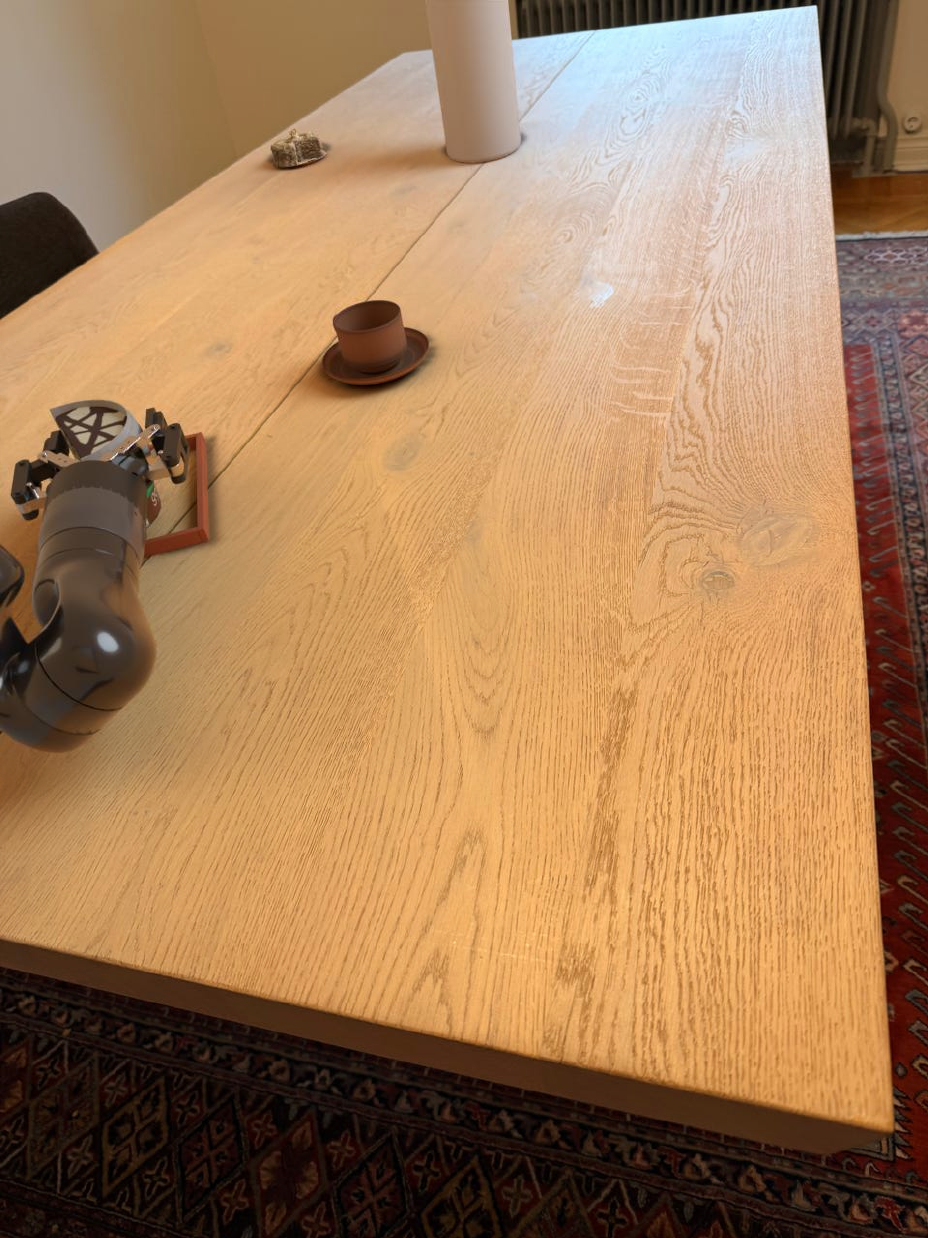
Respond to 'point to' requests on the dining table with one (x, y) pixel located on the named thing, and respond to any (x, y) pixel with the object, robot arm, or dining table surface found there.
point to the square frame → (202, 529)
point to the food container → (100, 435)
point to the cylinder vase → (475, 77)
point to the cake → (296, 149)
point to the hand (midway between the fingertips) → (107, 428)
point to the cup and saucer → (373, 344)
